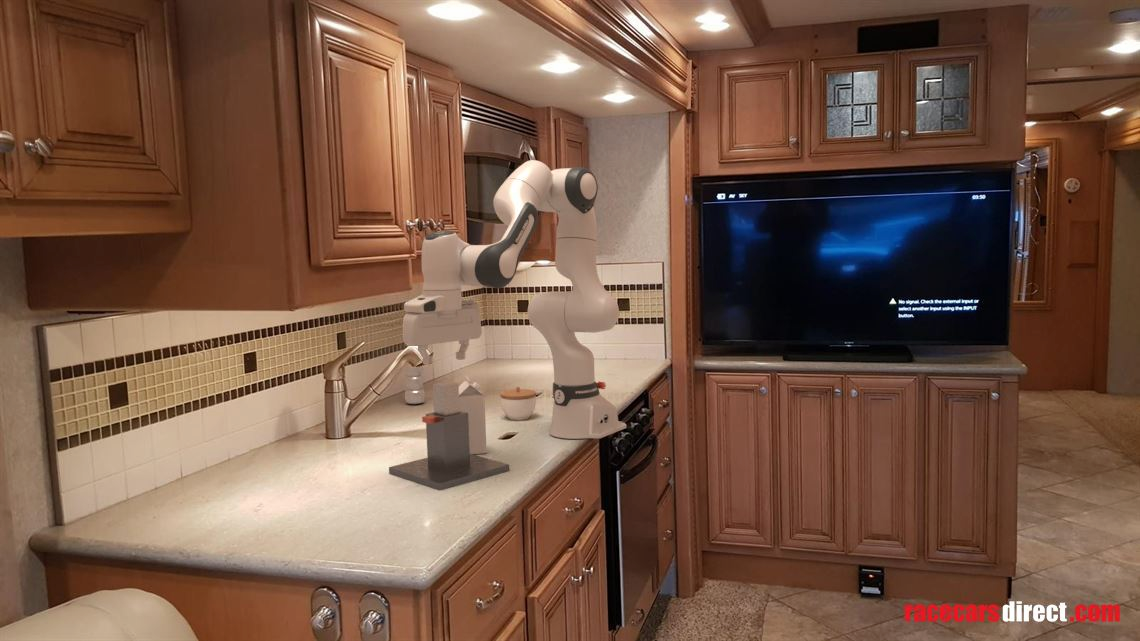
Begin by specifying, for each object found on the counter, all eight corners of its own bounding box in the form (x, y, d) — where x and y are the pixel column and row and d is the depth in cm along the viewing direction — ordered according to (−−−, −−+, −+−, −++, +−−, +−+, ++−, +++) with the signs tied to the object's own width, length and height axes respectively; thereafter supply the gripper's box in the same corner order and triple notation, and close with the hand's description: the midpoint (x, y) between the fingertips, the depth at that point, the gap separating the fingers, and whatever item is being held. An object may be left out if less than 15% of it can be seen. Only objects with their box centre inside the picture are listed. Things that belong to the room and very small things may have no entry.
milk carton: (458, 456, 219) (455, 381, 217) (454, 449, 226) (451, 377, 224) (486, 453, 221) (484, 379, 219) (482, 447, 228) (479, 375, 225)
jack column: (450, 456, 208) (447, 381, 206) (462, 459, 205) (459, 383, 203) (435, 459, 205) (432, 384, 203) (446, 463, 202) (443, 386, 200)
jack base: (457, 456, 219) (455, 401, 217) (509, 470, 205) (507, 412, 203) (389, 473, 205) (386, 414, 204) (440, 490, 191) (437, 427, 189)
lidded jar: (544, 416, 262) (543, 385, 261) (521, 423, 254) (520, 391, 253) (516, 412, 269) (515, 382, 267) (493, 419, 260) (492, 388, 259)
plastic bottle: (419, 401, 290) (416, 341, 288) (429, 404, 285) (426, 343, 283) (401, 403, 286) (398, 343, 284) (411, 406, 281) (408, 345, 279)
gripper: (469, 298, 210) (471, 355, 212) (397, 304, 196) (399, 365, 197) (486, 299, 206) (488, 357, 207) (413, 305, 191) (416, 368, 193)
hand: (444, 361), depth 202 cm, fingers open, 8 cm apart
